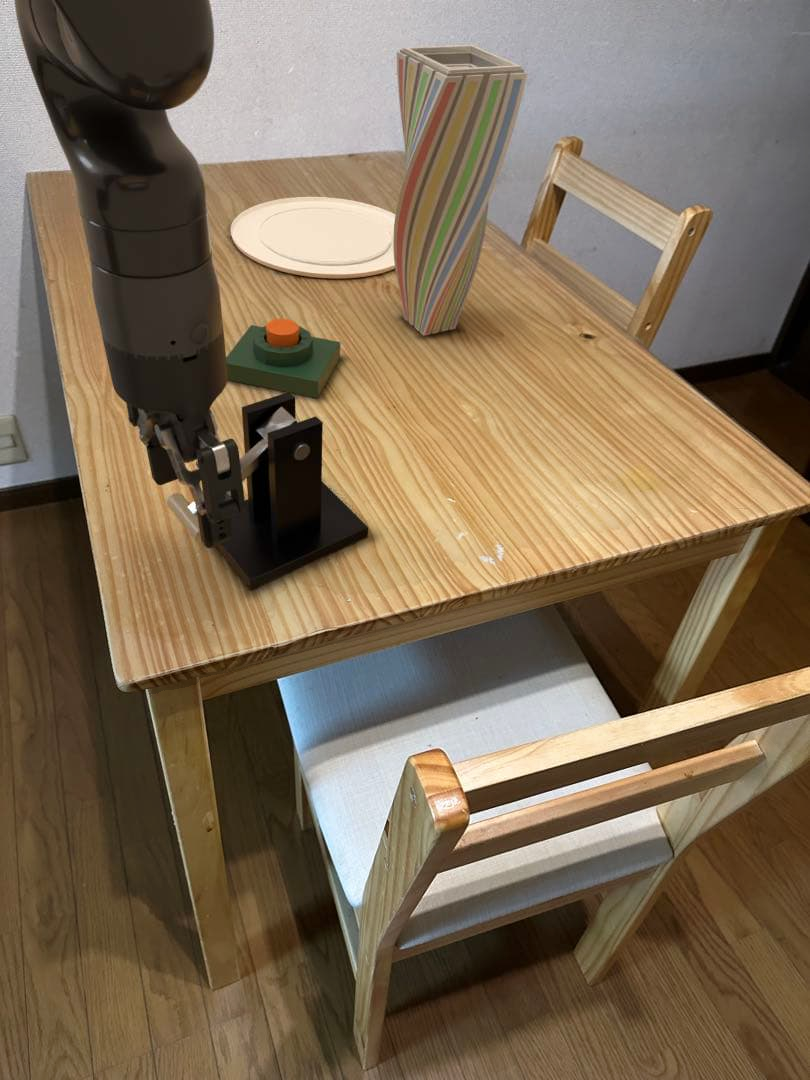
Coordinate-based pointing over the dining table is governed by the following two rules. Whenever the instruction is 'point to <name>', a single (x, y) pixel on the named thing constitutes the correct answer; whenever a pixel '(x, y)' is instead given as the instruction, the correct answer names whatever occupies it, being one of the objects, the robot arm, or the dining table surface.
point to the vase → (448, 172)
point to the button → (282, 333)
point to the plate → (317, 237)
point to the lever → (248, 466)
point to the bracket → (286, 501)
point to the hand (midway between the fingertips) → (191, 509)
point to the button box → (283, 362)
